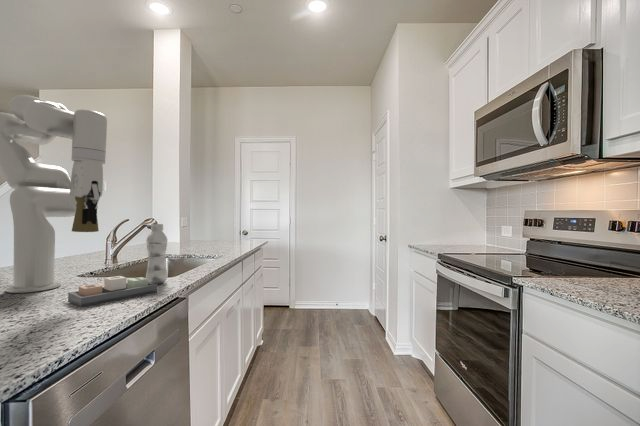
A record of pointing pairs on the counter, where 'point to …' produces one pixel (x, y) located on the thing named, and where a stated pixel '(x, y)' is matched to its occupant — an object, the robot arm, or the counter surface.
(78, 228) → the olive rounded piece
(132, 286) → the key sage
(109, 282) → the key cream
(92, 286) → the peach square block
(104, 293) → the base
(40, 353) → the counter surface
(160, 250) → the plastic bottle
